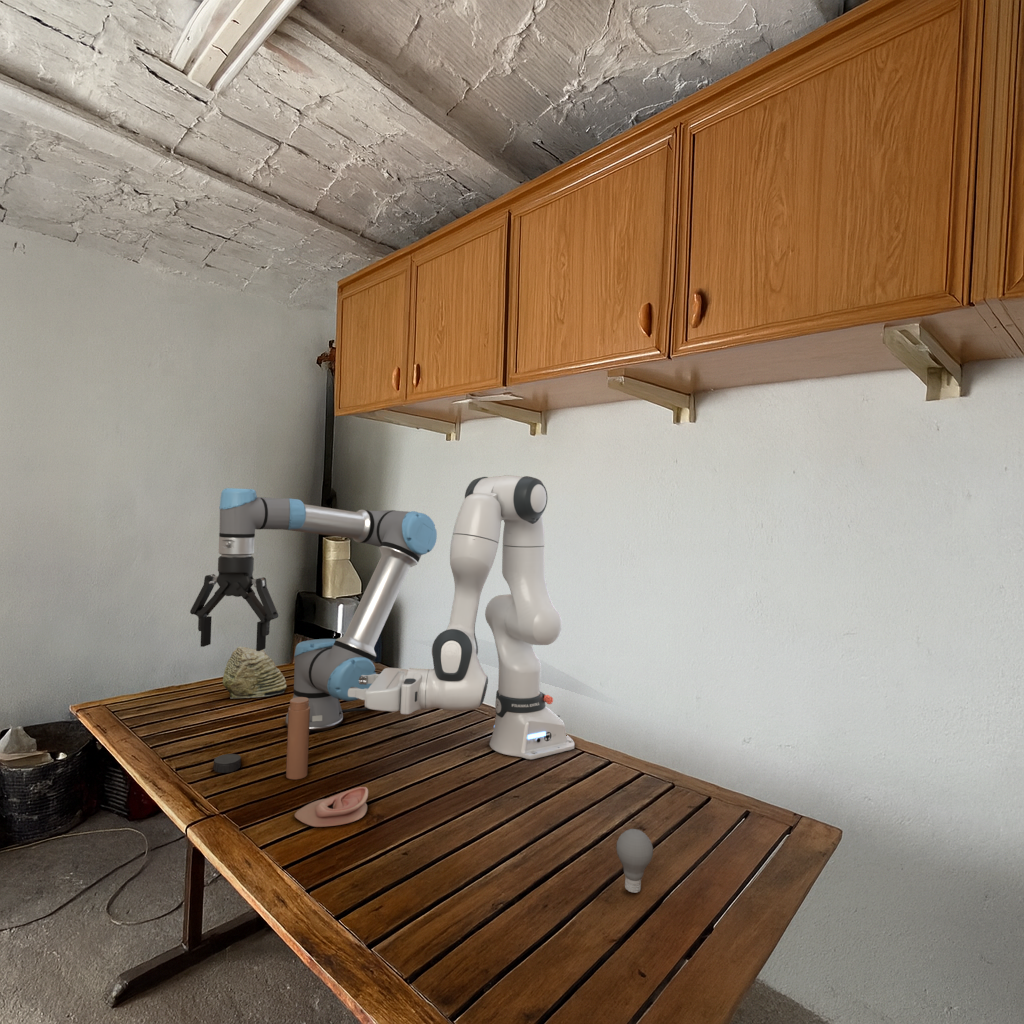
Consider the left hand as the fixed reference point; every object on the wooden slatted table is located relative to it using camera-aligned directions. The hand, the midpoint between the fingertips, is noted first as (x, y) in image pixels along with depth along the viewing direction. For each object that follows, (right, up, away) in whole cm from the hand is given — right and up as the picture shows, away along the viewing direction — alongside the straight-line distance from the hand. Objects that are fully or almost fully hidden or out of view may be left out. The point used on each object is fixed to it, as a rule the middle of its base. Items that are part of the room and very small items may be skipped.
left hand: (233, 647), depth 146 cm
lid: (-1, -26, 0) cm, 26 cm away
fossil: (-16, -26, +52) cm, 61 cm away
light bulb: (+84, -32, -40) cm, 99 cm away
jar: (+15, -28, -2) cm, 32 cm away
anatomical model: (+28, -29, -19) cm, 45 cm away
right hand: (+29, -8, -3) cm, 30 cm away
